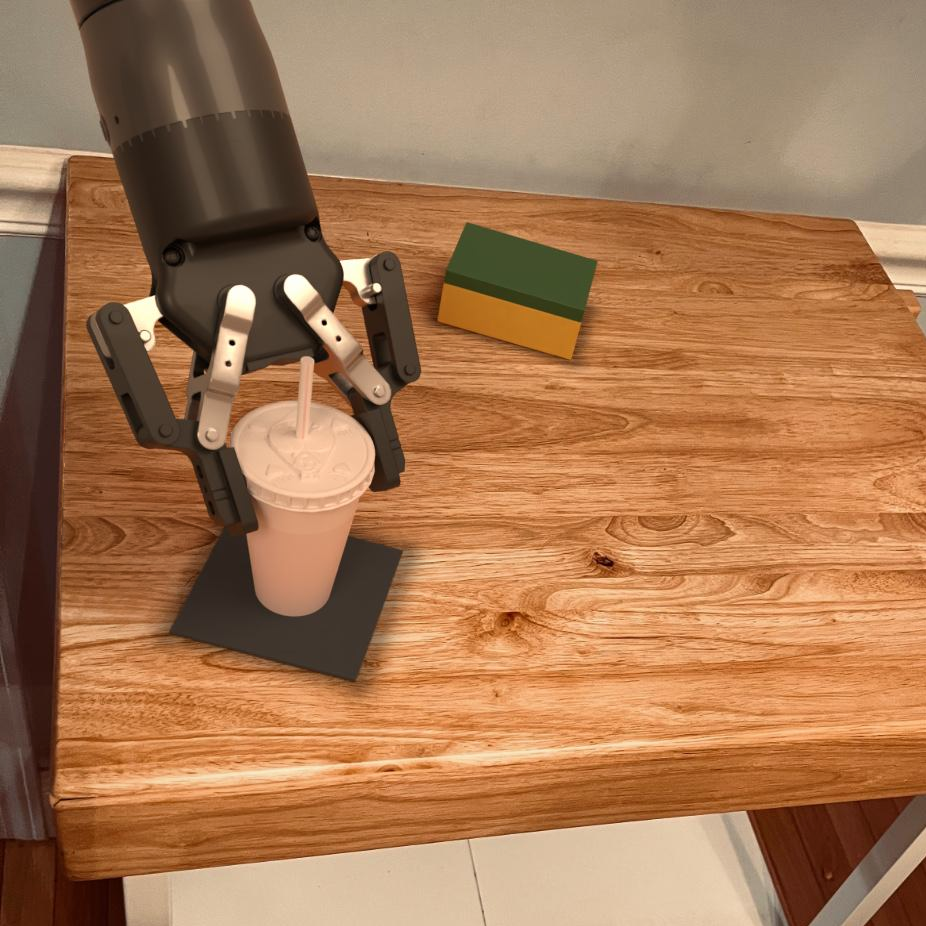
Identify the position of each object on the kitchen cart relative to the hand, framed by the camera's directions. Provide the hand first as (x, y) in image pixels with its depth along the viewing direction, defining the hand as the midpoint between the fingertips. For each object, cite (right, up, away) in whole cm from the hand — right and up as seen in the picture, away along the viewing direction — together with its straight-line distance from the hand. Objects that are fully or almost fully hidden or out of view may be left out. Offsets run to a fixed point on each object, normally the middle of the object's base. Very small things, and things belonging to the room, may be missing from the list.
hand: (318, 509), depth 54 cm
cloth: (-3, -4, +6) cm, 8 cm away
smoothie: (-3, -4, +6) cm, 8 cm away
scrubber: (+7, +15, +26) cm, 30 cm away
